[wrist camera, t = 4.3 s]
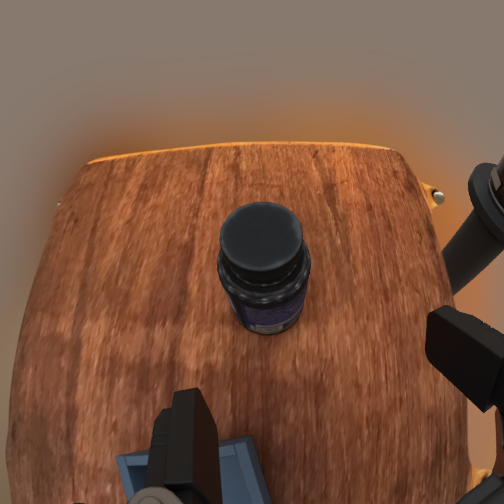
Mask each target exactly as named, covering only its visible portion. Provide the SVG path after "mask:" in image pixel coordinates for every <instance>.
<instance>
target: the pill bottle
mask: <svg viewBox="0 0 504 504" xmlns="http://www.w3.org/2000/svg"><path fill="white" fill-rule="evenodd" d="M220 246H221V249H220V252H219V255H218V259H217V271H218V274H219V278H220V281H221V283H222V285H223V288H224V290H225V292H226V294H227V297H228V299H229V302H230V304H231V306H232V308H233V311H234V313H235V315H236V317H237V319H238V320H239V322H240V323H241V324H242V325H243V326H244V327H246V328H247V329H248V330H250V331H252V332H254V333H257V334H262V335H273V334H278V333H282V332H284V331H285V330H287V329H288V328H290V327H291V326H292V325H293V324H294V323H295V322H296V321H297V320H298V318H299V316H300V314H301V312H302V308H303V303H304V299H305V294H306V289H307V284H308V279H309V274H310V268H311V258H310V254H309V250H308V248H307V245H306V244H305V242H304V240H303V231H302V227H301V224H300V222H299V220H298V219H297V217H296V216H295V215H294V214H293V213H292V212H291V211H290V210H288V209H287V208H285V207H284V206H282V205H278V204H276V203H272V202H253V203H251V204H247V205H244V206H242V207H240V208H238V209H236V210H235V211H234V212H233V213H231V214H230V215H229V216H228V217H227V219H226V220H225V222H224V224H223V226H222V228H221V232H220Z"/></svg>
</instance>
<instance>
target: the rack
mask: <svg viewBox="0 0 504 504" xmlns="http://www.w3.org/2000/svg"><path fill="white" fill-rule="evenodd" d="M218 443H219V459H220V473H221V486H222V498H223V504H272V501H271V498H270V495H269V492H268V489H267V485H266V482H265V479H264V476H263V472H262V469H261V466H260V462H259V459H258V455H257V452H256V449H255V445H254V442H253V438H252V435H250V436H245V437H240V438H235V439H230V440H225V441H219V442H218ZM148 456H149V450H143V451H138V452H134V453H129V454H124V455H119V456H116V460H117V464H118V468H119V472H120V476H121V479H122V483H123V486H124V490H125V493H126V496H127V499H128V501H129V500H130V498H131V497H132V496H133V495H134V494H135V493H136V492H138V491H140V490H142V489H143V487H144V483H145V476H146V469H147V463H148Z"/></svg>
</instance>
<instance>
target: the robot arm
mask: <svg viewBox="0 0 504 504" xmlns="http://www.w3.org/2000/svg"><path fill="white" fill-rule="evenodd" d="M487 186H488V191H489V194H490V197H491V199H492V201H493V203H494V204H495V206H496V207H497V209H498V210H499V211H500V213H501V214H502V215H503V216H504V155H503V157H502V159H501V161H500V162H499V164H498V166H497V167H496V168H495V167H494V168H493V170H492V172H491V176H490V177H489V179H488V183H487ZM425 353H426V356H427V359H428V360H429V362H430V363H431V364H432V365H433V366H434V367H435V368H436V369H437V370H438V371H440V372H441V373H442V374H443V375H444V376H445V377H446V378H447V379H448V380H449V381H450V382H451V383H452V384H453V385H455V386H456V387H457V388H458V389H459V390H460V391H461V392H462V393H463V394H464V395H465V396H466V397H467V398H468V399H469V400H471V402H473V403H474V404H475V405H476V406H477V407H478V408H479V409H480V410H481V411H482V412H483V413H484V412H486V411H487V410H488V409H490V408H491V407H492V406H493V405H495V406H496V407H497V409H496V412H495V422H496V449H497V450H496V453H497V455H496V461H495V465H494V467H493V470H492V474H491V475H490V476H489V477H488V478H486V479H485V480H484V481H483V482H481V483H480V484H479V485H477V486H476V487H475V488H473V489H472V490H471V491H469V492H468V493H467V494H465V495H464V496H463V497H462V498H461V499H460V500H459V501H458V502H457V503H456V504H504V334H502V333H500V332H499V331H497V330H496V329H494V328H491V327H490V326H489V325H487V324H486V323H483V321H481V320H480V319H478V318H476V317H475V316H473V315H469V314H465V313H462V312H459V311H457V310H456V309H454V308H453V307H451V306H449V305H444V306H442V307H440V308H438V309H436V310H434V311H432V312H430V313H429V314H428V316H427V327H426V342H425ZM152 434H153V436H152V439H151V447H150V450H149V456H148V463H147V469H146V476H145V483H144V487H143V489H142V490H140V491H138V492H136V493H135V494H134V495H133V496H132V497H131V498H130V500H129V501H128V504H223V498H222V486H221V473H220V459H219V443H218V432H217V428H216V424H215V421H214V419H213V417H212V415H211V412H210V410H209V408H208V406H207V404H206V402H205V400H204V398H203V396H202V393H201V391H200V390H199V388H192V389H186V390H181V391H175V392H174V395H173V402H172V408H167V409H163V410H162V411H161V412H160V414H159V415H158V417H157V418H156V420H155V422H154V427H153V433H152ZM74 504H84V503H74Z"/></svg>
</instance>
